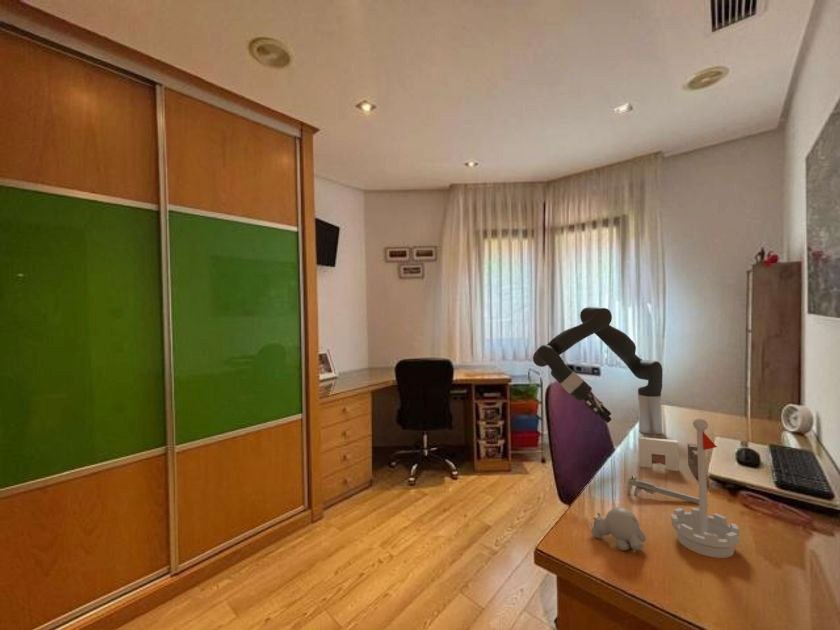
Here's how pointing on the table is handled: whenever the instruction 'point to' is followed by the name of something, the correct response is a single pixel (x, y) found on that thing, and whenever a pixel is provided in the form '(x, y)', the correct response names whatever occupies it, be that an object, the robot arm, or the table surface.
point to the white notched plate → (658, 452)
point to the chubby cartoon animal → (619, 528)
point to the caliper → (657, 490)
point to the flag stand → (704, 513)
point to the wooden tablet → (658, 459)
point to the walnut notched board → (693, 459)
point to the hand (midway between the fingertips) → (609, 418)
